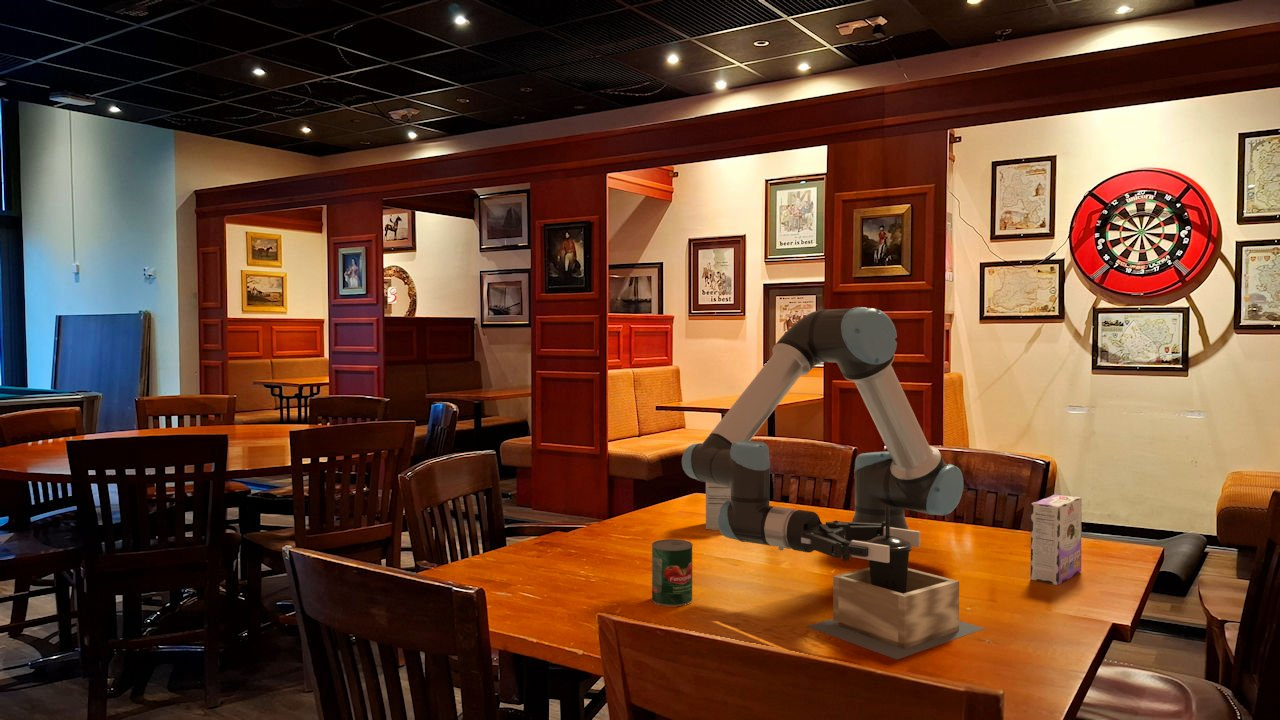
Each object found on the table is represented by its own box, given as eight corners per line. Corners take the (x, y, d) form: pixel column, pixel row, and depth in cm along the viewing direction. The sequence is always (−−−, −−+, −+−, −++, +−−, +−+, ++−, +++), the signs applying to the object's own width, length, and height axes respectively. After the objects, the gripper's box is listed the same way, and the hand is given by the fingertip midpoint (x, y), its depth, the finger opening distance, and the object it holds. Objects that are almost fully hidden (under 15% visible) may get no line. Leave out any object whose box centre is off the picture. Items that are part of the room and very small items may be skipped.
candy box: (1053, 567, 187) (1054, 493, 186) (1082, 572, 182) (1082, 496, 182) (1029, 580, 177) (1029, 501, 177) (1058, 585, 173) (1059, 505, 172)
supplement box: (707, 522, 234) (707, 461, 233) (741, 523, 233) (741, 462, 232) (705, 530, 224) (705, 467, 224) (740, 531, 223) (740, 467, 223)
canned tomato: (679, 609, 158) (679, 550, 158) (644, 602, 163) (644, 545, 162) (699, 598, 165) (699, 542, 165) (664, 592, 169) (664, 537, 169)
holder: (887, 608, 157) (887, 562, 157) (959, 630, 145) (959, 581, 145) (833, 624, 149) (833, 576, 148) (904, 649, 136) (904, 596, 136)
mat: (894, 603, 162) (894, 601, 162) (985, 630, 146) (985, 628, 146) (806, 628, 148) (806, 626, 148) (896, 661, 132) (897, 659, 132)
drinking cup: (860, 614, 151) (858, 503, 151) (902, 612, 152) (900, 501, 151) (875, 629, 143) (873, 512, 143) (919, 627, 144) (917, 510, 143)
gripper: (825, 537, 169) (930, 554, 155) (759, 563, 149) (874, 584, 136) (825, 499, 168) (931, 513, 155) (759, 520, 149) (874, 538, 136)
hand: (904, 546), depth 145 cm, fingers open, 13 cm apart
